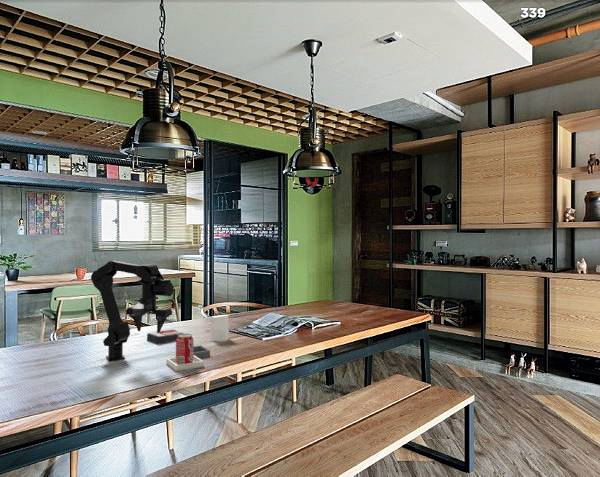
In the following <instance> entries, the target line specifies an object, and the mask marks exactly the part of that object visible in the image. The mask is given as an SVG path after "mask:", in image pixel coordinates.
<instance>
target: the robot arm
mask: <svg viewBox="0 0 600 477" xmlns="http://www.w3.org/2000/svg"><path fill="white" fill-rule="evenodd" d="M118 272H121V273H128V274H133V275H135V276H136V277H138V278H140V279H139V280H138V281H137V284H138V285H141V297H139V302H137V303H136V304H135V305H132V306H128V307H126V309H125V315H128V317H129V318H131V319H132V320H133V321H134V324H135V326H136V331H137V332H141V329H142V322H143V321H142V320H143V316H145V315H147V314H149V315H156V317H155V319H156V322H157V323H156V325H157V326H156V332H157V333H159V332H160V331H162V328H163V326H164V324H165V322H166V320H167V318H169V317H170V316H172V315H173V310H172V308H170V307H169V308H167V307H162V308H159V305H157V300H158V299H159V296H160V297H171V296H172V295H173V293H174V290H175V287H174V284H173V283H172V282H171V281H172V280H171V279H165V278H164V277H163V275H162V273H161V272H160V270H159V267H158V265H156V264H137V263H130V262H125V261H120V260H118V259H117V260H109V261H107V263H104V265H102V266H101V267H99V268H97V270H94V271H92V273H91V276H90V279H91V280H90V281H91V282H92V284H93V286H94V287H95V289H97V290H98V292H99V294H100V296H101V300H102V303H103V304H102V305H103V308H104V310H105V313H106V316H107V320H108V328H107V334H108V335H107V336H106V337H105V338H104V339H103V340H102V343H103V346H104V347H108V349H107V350H108V351H107V353H108V354H107V355H106V356H105V357H106V359H107V360H108V361H109V362H111V361H117V360H124V359H126V357H125V356H124V354H123V353H124V352H123V350H124V349H123V348H124V345H123V344H125V343H127V342H128V339H129V336H130V335H131V332H130V331H131V330H132V329H131V328H130V325H129V322H128V321H124V320H123V319H122V317H121V314H120V310H119V307H118V304H117V300H116V298H115V295H114V294H115V293H114V291H113V285H114V276H116V275H117V274H118Z"/></svg>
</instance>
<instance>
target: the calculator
mask: <svg viewBox="0 0 600 477" xmlns="http://www.w3.org/2000/svg"><path fill="white" fill-rule="evenodd" d="M180 334H185V333H184V332H183V331H179V330H176V329H166V330H160V332H159V333H157V331H153V332H148V333H146V341H148V342H151V343H153V342H154V343H153V344H157V345H159V344H160V345H161V344H165V343H167V342H168V343H169V342H176V339H177V338H178V335H180Z"/></svg>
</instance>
